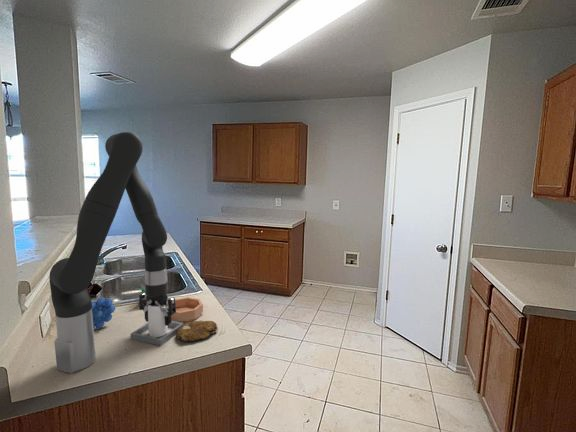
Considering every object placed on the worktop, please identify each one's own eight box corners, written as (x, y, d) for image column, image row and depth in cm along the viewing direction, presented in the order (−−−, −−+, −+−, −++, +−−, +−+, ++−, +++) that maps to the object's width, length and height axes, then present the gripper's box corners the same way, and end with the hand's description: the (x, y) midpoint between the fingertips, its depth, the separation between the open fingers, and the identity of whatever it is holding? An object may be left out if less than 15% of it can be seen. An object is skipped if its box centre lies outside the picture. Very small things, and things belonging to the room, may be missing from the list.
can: (161, 339, 113) (159, 307, 111) (145, 336, 114) (143, 305, 112) (171, 330, 119) (170, 300, 117) (155, 328, 120) (154, 298, 119)
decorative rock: (211, 324, 126) (173, 335, 117) (210, 314, 125) (172, 325, 117) (222, 335, 116) (181, 348, 108) (222, 324, 116) (180, 337, 107)
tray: (161, 345, 109) (160, 340, 108) (130, 339, 112) (130, 333, 112) (184, 328, 121) (183, 323, 121) (155, 322, 125) (155, 317, 124)
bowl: (189, 325, 123) (188, 314, 122) (159, 319, 127) (158, 308, 126) (208, 310, 136) (208, 300, 136) (180, 305, 140) (180, 295, 140)
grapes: (113, 319, 126) (111, 291, 124) (118, 325, 121) (116, 296, 119) (78, 329, 118) (76, 298, 116) (82, 336, 113) (80, 304, 112)
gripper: (132, 281, 112) (134, 324, 115) (166, 287, 108) (167, 330, 110) (147, 275, 119) (149, 315, 122) (179, 279, 115) (180, 321, 118)
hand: (158, 322), depth 116 cm, fingers open, 8 cm apart
